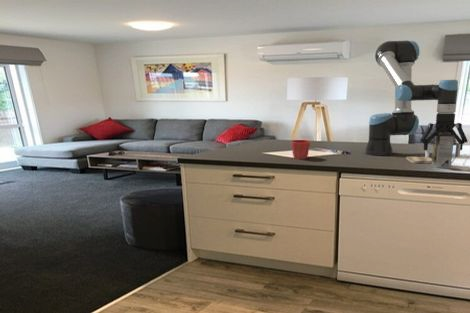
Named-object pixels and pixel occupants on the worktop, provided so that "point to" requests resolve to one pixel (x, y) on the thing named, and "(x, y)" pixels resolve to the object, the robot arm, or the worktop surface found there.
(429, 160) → the beige square napkin
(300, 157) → the flower pot
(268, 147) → the worktop surface
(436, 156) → the coffee box
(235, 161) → the worktop surface
